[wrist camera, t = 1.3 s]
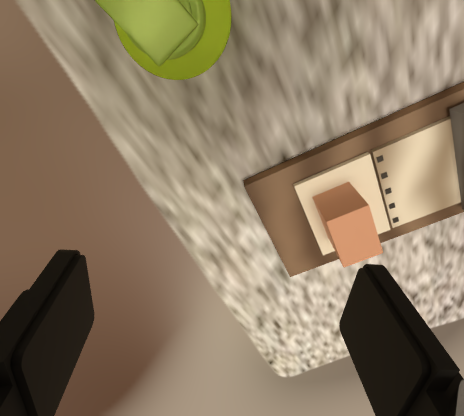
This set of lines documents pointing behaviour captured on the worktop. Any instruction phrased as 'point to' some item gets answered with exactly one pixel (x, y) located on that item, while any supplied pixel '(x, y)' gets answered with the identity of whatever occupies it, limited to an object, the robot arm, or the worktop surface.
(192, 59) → the soap dispenser
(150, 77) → the worktop surface
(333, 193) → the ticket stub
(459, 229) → the worktop surface
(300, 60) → the worktop surface
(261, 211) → the ticket board
